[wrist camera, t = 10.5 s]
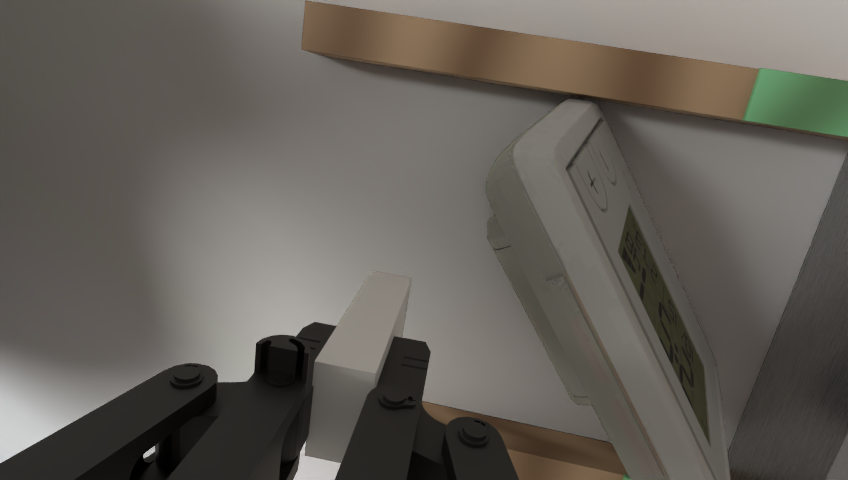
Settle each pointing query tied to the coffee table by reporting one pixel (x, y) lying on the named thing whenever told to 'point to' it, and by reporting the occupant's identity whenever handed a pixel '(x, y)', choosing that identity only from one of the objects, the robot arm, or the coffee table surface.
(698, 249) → the coffee table surface
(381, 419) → the robot arm
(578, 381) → the digital clock
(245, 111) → the coffee table surface
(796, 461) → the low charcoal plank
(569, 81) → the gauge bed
